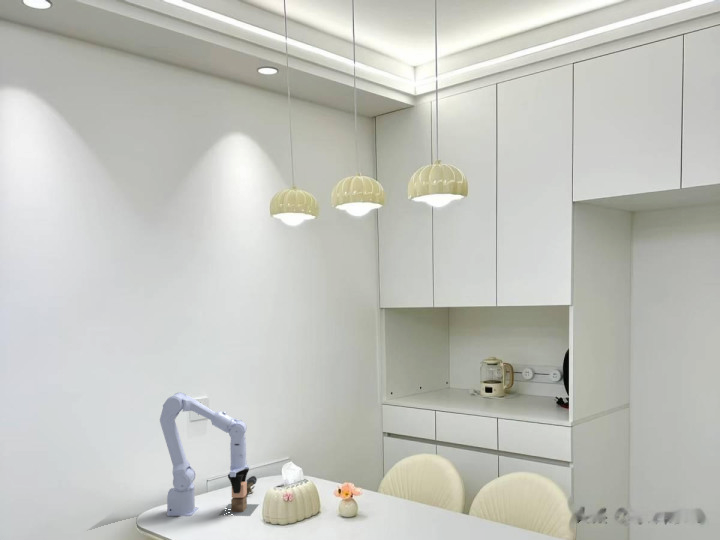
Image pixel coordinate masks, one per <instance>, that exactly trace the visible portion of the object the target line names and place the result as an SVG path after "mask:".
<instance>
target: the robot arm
mask: <svg viewBox="0 0 720 540" xmlns="http://www.w3.org/2000/svg"><path fill="white" fill-rule="evenodd" d="M191 411H192V412H193V413H196V414H198V415H200V416H202V417H204V418H206V419H207V420H210V422H211V424H212V426H214V427H215V428H218V429H219V430H221V431H223V432H224V433H226V434H227V433H228V435H229V438H230V445H229V446H230V448H229V449H230V450H229V451H230V467H229V470H230V471H229V473H228V474H227V479H228V480H229V481H230V484H231V489H232V488H233V492H234V493H240V489H241V482H246V481H247V475H248V473H249V471H250V465H249V464H248V465H247V463H248V461H247V443H246V442H247V441H246V434H245V433H247V432H246V431H247V424H246V423H245V422H244V421H243V420H241V419H238V418H235V417H232V416H230V415H228V414H227V412H226V411H223V412H222V411H221V410H218V411H215V410H213V409H211V408H209V407H208V406H206V405H205V404H203V403H201V402H200V401H198V400H197V399H195V398H193V397H192V396H190V395H186V394H185V393H184V392H179V391H178V392H175V393H174V394H173V395H171V396H170V397H167V399H166V400H165V402H164V403H163V404H162V411H161V414H160V418H159V422H160V426H161V430H162V433H163V436H164V440H165V443H166V446H167V449H168V454H169V456H170V461H171V463H172V476H173V479H172V485H173V487H172V488H169V490H168V491H167V496H166V500H167V501H166V504H167V505H166V507H167V509H166V510H167V512H166V513H167V514H166V517H167V516H169V517H192V516H193V515H194V514H195V513H196V512H197V511H198V510H199V509H200V508H199V507H198V506H197V507H196V506H195V503H196V502H195V500H196V499H195V497H196V496H195V493H196V492H195V485H194V483H193V482H194V481H195V479H196V471H195V470H194V469H193V468H192V466H191V463H190V462H189V461H188V460H187V457H186V454H185V453H186V452H185V449H184V446H183V444H182V440H181V436H180V433H179V429H178V427H177V423H176V419H177V417H178V416H179V414H180V412H191Z"/></svg>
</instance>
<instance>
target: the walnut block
mask: <svg viewBox="0 0 720 540" xmlns="http://www.w3.org/2000/svg"><path fill="white" fill-rule="evenodd" d="M247 497H248V495H247V496H246V495H245V496H244V498H234V497H231V499H230V501H231V503H230V504H231V512H244V510H245V509H246V508H247V504H248V501H247V500H248V499H247Z"/></svg>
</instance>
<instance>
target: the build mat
mask: <svg viewBox="0 0 720 540" xmlns="http://www.w3.org/2000/svg"><path fill="white" fill-rule="evenodd" d="M259 505H260V504H258V503H257V504H255V503H247V508H246V509H245V510H244V512H231V510H228V509H231V503H228V504H227V505H226V506H225V508H227V509H225V508H224V509H223V510H222V511H220V513H219V514H218V516H221V515H222V516H223V515H224V514H225V515H227V517H228V515H231V514H233V515H234V517H235V516H236V517H238V516H239V517H251V515H252V514H253V513H254V512H255V511H256V510H257V508H258V507H259ZM225 510H226V511H225ZM228 512H230V513H228ZM226 513H227V514H226ZM233 515H231V516H233ZM231 516H230V517H231Z"/></svg>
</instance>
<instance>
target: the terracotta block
mask: <svg viewBox="0 0 720 540" xmlns="http://www.w3.org/2000/svg"><path fill="white" fill-rule="evenodd" d="M246 494H247V481H245V482H241V489H240V493H234V492H233V488H232V487H231V498H233V497H234V498H244V496H246Z"/></svg>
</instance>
